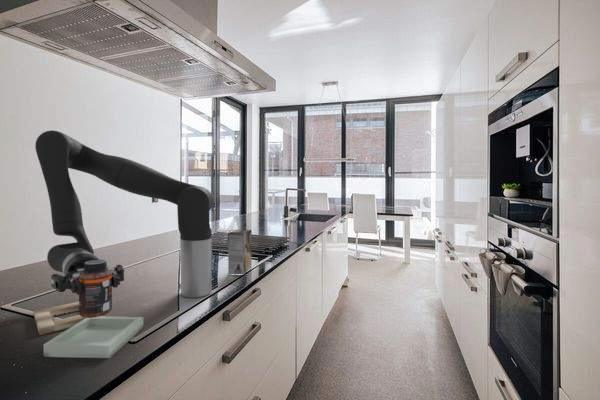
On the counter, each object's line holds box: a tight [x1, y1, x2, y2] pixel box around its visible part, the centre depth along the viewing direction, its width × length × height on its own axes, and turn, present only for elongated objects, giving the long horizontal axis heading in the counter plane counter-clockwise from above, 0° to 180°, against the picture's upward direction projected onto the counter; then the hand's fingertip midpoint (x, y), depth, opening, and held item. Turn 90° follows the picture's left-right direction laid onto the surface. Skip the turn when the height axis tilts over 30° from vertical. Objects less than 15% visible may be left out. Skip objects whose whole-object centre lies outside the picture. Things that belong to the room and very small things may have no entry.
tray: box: [42, 315, 145, 359], centre depth 67 cm, size 13×13×2 cm
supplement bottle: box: [78, 259, 113, 318], centre depth 67 cm, size 6×6×11 cm
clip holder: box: [33, 301, 107, 336], centre depth 79 cm, size 13×13×2 cm
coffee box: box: [227, 229, 252, 276], centre depth 120 cm, size 9×6×16 cm
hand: (98, 286), depth 65 cm, fingers closed on supplement bottle, 6 cm apart
